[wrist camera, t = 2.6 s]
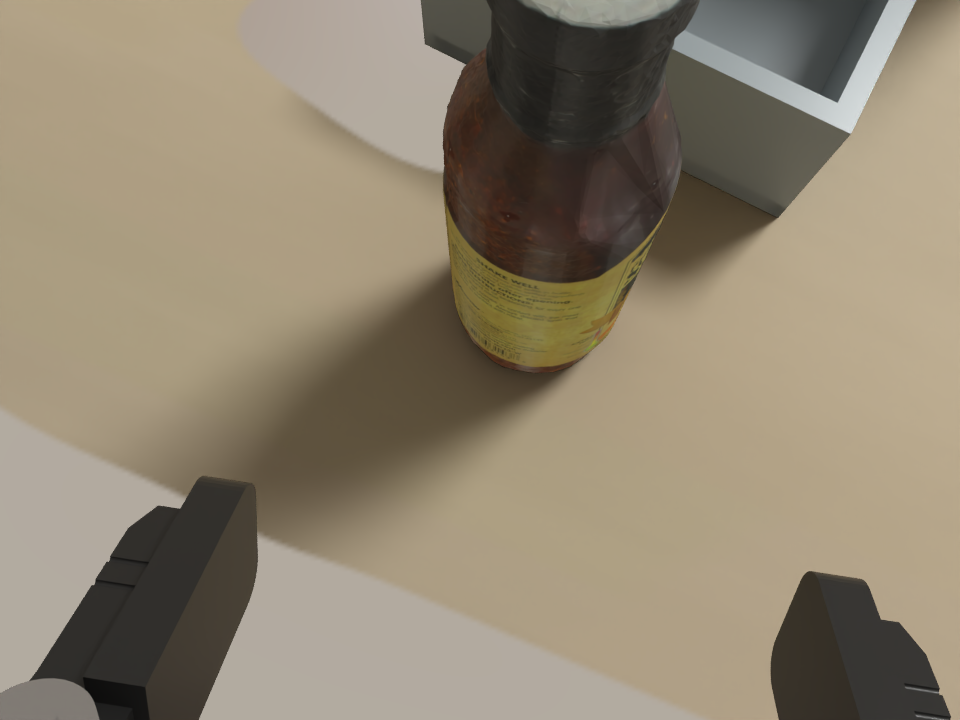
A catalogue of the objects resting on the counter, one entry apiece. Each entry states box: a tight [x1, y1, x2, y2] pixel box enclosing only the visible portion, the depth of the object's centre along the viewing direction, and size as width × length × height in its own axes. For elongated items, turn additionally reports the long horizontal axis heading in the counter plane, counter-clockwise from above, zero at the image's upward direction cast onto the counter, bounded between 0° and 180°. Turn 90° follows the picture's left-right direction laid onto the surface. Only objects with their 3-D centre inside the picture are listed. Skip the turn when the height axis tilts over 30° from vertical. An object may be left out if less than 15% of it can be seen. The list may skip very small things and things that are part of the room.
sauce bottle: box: [443, 0, 700, 373], centre depth 25 cm, size 7×6×20 cm
